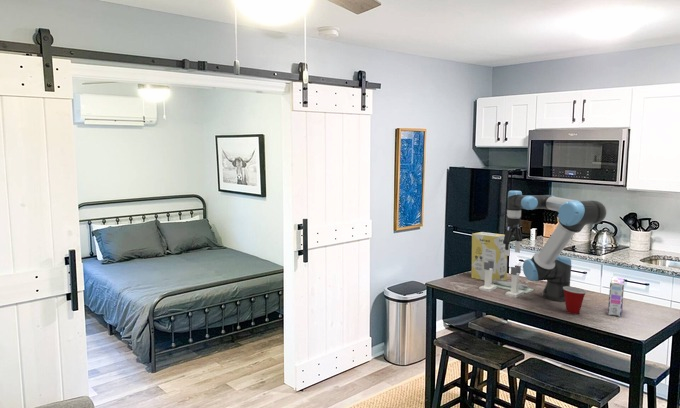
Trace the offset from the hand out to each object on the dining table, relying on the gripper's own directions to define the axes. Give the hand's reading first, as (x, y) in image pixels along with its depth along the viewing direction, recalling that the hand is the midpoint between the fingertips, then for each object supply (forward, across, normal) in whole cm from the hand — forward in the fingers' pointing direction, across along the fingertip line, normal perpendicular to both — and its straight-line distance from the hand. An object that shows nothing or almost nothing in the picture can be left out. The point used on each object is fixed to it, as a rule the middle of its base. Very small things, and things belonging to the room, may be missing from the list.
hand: (512, 253), depth 290 cm
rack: (+20, +12, 0) cm, 23 cm away
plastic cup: (+21, +20, +42) cm, 51 cm away
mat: (+20, 0, 0) cm, 20 cm away
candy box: (+21, +5, +56) cm, 61 cm away
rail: (+20, 0, 0) cm, 20 cm away
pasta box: (+20, -9, -18) cm, 29 cm away
